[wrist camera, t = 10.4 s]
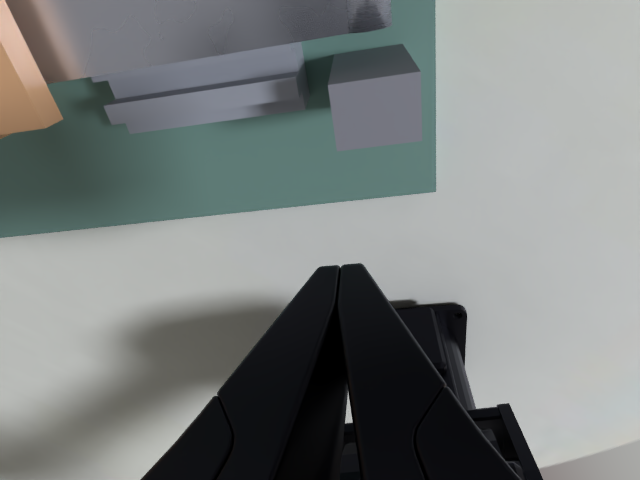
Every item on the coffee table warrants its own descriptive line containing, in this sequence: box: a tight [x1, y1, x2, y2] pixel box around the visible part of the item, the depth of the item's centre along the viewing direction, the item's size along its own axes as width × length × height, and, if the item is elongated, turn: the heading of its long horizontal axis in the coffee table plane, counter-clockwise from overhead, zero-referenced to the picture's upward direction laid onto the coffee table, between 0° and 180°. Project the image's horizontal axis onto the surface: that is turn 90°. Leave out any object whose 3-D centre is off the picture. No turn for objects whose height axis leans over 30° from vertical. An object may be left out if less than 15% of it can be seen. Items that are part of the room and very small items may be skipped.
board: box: [0, 0, 436, 238], centre depth 14 cm, size 18×23×6 cm
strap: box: [5, 0, 392, 84], centre depth 12 cm, size 3×13×1 cm, turn 99°
